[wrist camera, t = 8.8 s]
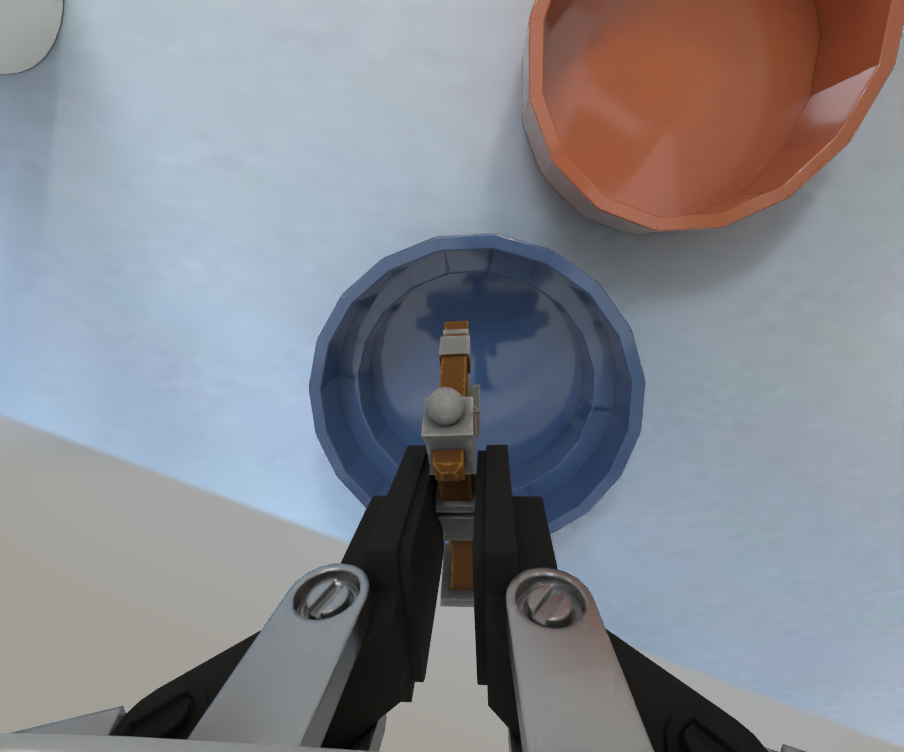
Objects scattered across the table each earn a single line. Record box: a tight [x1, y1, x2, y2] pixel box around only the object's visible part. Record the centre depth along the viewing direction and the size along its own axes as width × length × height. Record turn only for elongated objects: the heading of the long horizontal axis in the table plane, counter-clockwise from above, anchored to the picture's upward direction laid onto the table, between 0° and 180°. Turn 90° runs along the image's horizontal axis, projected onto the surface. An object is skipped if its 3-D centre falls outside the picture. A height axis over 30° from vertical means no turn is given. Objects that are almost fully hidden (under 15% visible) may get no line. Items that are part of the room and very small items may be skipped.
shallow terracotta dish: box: [522, 0, 904, 234], centre depth 15 cm, size 11×11×3 cm
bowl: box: [309, 234, 645, 543], centre depth 19 cm, size 13×13×4 cm
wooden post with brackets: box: [421, 321, 480, 607], centre depth 11 cm, size 2×8×4 cm, turn 4°
